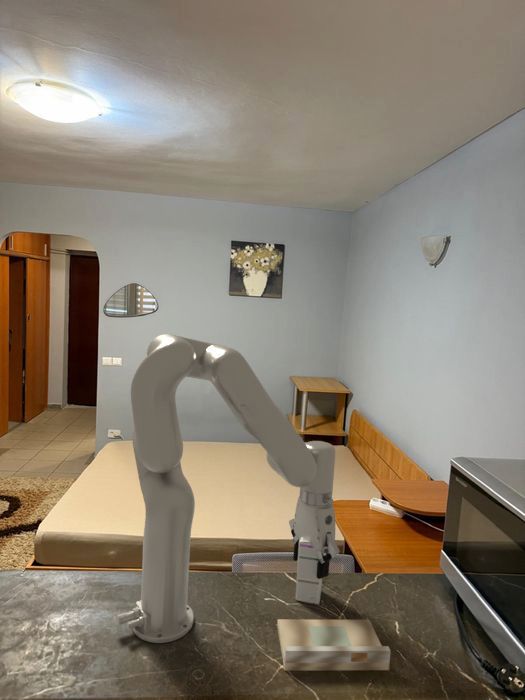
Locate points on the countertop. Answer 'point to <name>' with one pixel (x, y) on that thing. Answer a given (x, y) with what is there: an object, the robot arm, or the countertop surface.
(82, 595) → the countertop surface
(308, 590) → the syrup box
